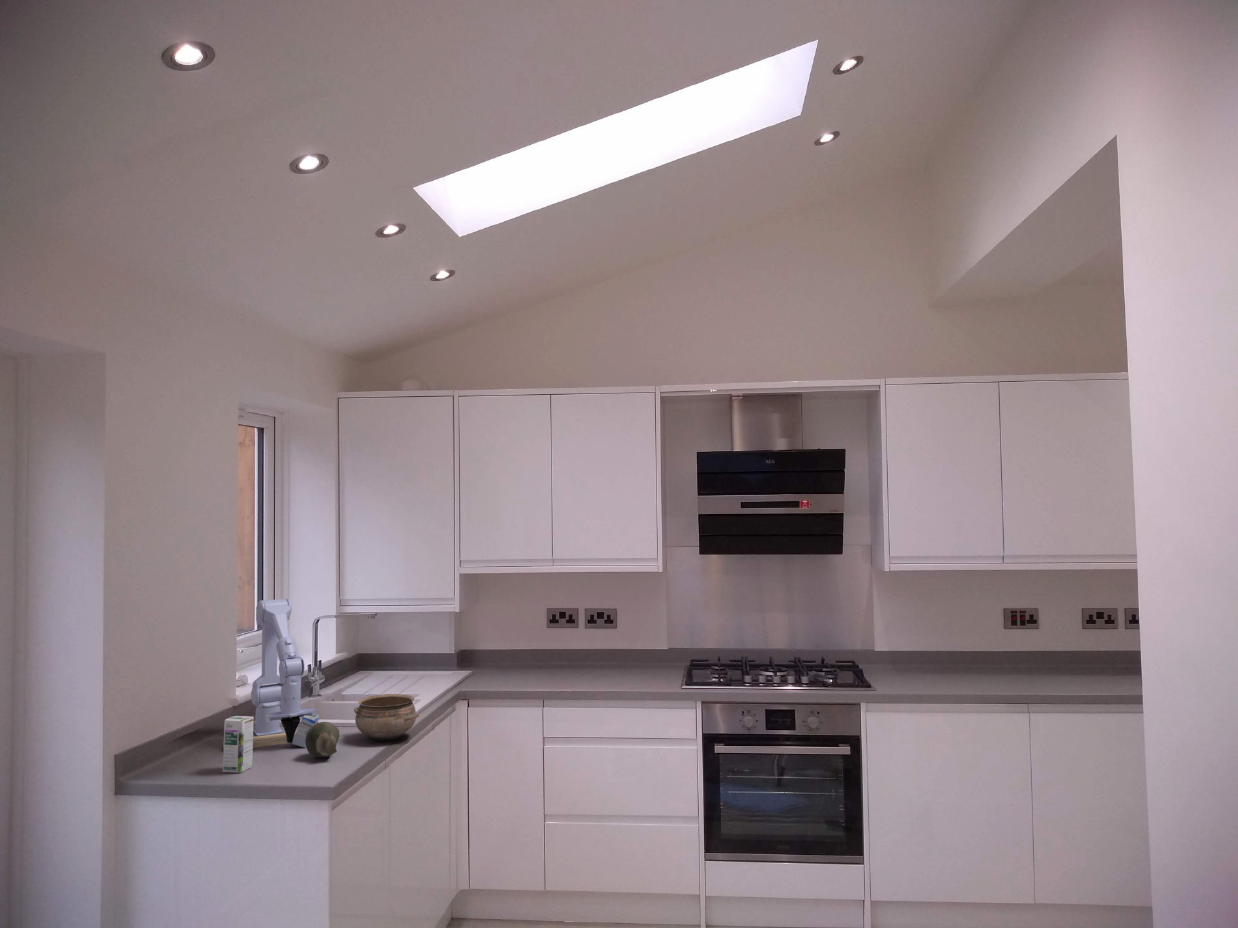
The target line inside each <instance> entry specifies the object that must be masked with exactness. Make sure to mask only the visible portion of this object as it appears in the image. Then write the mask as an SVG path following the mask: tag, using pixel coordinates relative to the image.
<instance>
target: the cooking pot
mask: <svg viewBox="0 0 1238 928" xmlns="http://www.w3.org/2000/svg"><path fill="white" fill-rule="evenodd" d="M414 701H415V697H414V696H412V695H407V694H401V693H400V694H398V693H393V694H392V693H390V694H389V693H388V694H387V693H386V694H377V695H370V696H367V697H363V698H361V699H359V700H358V701H357V703H358V705H359V706H356V707H354V708H353V711H354V713H355V718H354V720H355V721H354V722H355V726H356V728H357V729H358V731H360V732H361V733H362V734H364V736H367V737H368V738H371V739H373V740H375V741H376V740H377V741H376V742H391V741H395V740H396V739H397V738H399V737H401V736H402V735H404V734H405V733H407V732H409V731H410V730H411V728H413V726H414V725H415V723H416V720H417V718H419V717H420V714H419V713H417V711H416V707H415V705H414Z"/></svg>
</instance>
